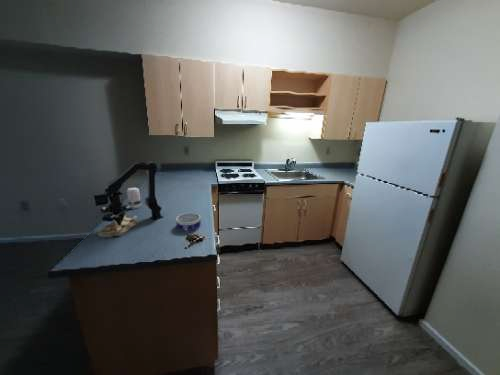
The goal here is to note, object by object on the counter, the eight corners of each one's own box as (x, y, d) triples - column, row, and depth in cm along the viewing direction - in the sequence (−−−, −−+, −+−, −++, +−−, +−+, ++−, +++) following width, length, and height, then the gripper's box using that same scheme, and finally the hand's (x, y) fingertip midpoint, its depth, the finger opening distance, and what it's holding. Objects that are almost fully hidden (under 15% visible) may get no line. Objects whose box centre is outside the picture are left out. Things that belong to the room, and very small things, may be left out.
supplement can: (130, 205, 170) (127, 187, 165) (141, 204, 173) (139, 186, 168) (128, 209, 162) (125, 190, 158) (140, 208, 165) (138, 189, 161)
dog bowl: (176, 232, 131) (175, 224, 130) (177, 221, 145) (176, 213, 144) (201, 230, 136) (201, 221, 134) (200, 219, 150) (199, 211, 148)
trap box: (126, 218, 148) (125, 214, 147) (142, 219, 147) (141, 215, 146) (98, 236, 125) (97, 231, 124) (117, 238, 124) (116, 233, 123)
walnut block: (111, 229, 132) (109, 223, 131) (116, 230, 131) (115, 224, 130) (103, 234, 126) (102, 228, 125) (109, 235, 126) (108, 229, 124)
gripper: (114, 196, 141) (118, 217, 146) (91, 207, 123) (96, 231, 128) (129, 197, 140) (133, 218, 145) (108, 208, 122) (113, 232, 127)
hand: (119, 224), depth 136 cm, fingers closed
